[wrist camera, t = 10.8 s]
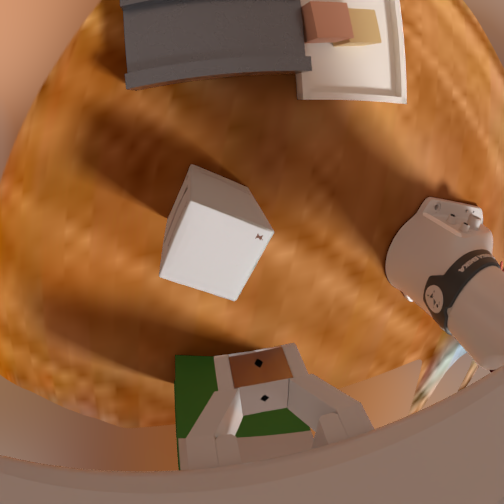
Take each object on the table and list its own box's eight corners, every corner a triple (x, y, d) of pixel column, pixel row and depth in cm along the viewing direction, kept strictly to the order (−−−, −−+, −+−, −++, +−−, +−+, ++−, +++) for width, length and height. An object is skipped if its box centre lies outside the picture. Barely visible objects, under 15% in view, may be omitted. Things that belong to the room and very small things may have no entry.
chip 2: (329, 10, 25) (346, 2, 22) (335, 42, 27) (354, 37, 24) (295, 10, 25) (310, 1, 21) (302, 43, 27) (317, 38, 23)
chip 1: (326, 15, 26) (356, 15, 27) (333, 46, 28) (363, 45, 29) (342, 7, 23) (374, 9, 23) (350, 42, 25) (381, 42, 25)
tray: (389, -9, 26) (397, -12, 24) (397, 102, 33) (406, 103, 32) (286, -26, 24) (291, -32, 22) (297, 99, 32) (303, 99, 30)
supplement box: (190, 161, 33) (190, 196, 22) (249, 187, 36) (278, 232, 25) (165, 219, 35) (156, 278, 24) (222, 240, 38) (237, 304, 27)
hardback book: (174, 383, 49) (183, 515, 28) (175, 354, 46) (183, 502, 25) (273, 383, 53) (311, 501, 32) (283, 356, 50) (330, 484, 29)
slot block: (286, -5, 25) (303, -20, 20) (293, 74, 30) (311, 70, 25) (129, 8, 23) (119, -7, 18) (136, 90, 28) (126, 89, 23)
